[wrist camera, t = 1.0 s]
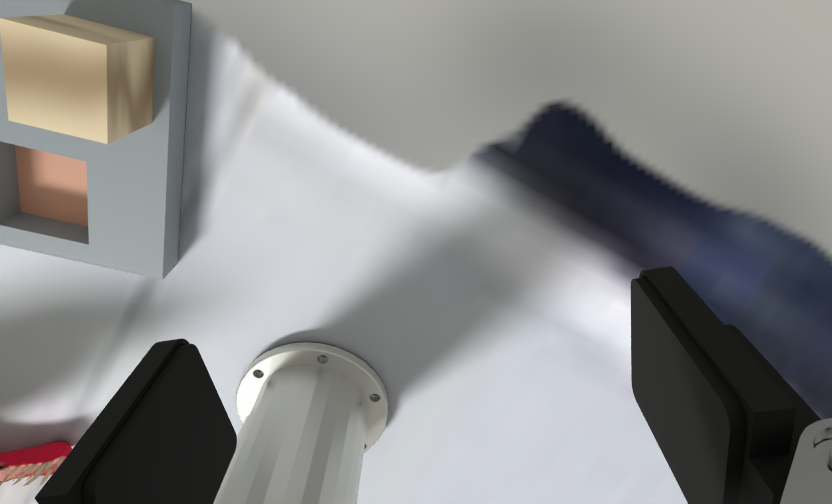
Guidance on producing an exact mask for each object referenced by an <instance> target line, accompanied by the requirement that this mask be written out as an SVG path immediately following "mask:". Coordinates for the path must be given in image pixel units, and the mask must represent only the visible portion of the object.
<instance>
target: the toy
mask: <svg viewBox="0 0 832 504" xmlns="http://www.w3.org/2000/svg"><path fill="white" fill-rule="evenodd" d="M71 450H72V448H71V446H70V445H69V444H68V443H66V442H53V443H49V444H45V445H41V446H37V447H33V448H28V449H23V450H17V451H11V452H5V453H0V485H1V484H2V483H3V482H6V481H9V480H11V479H15V478H19V479H18V480H17V481H16V482H15V483H14V484H16V483H17V482H19V481H20V480H21V479H22V478H23V477H27V476H30V477H29V478H28V479H30V478H31V477H32V476H33V475H34V476H33V478H32V479H30V480H29V481H28V482H27V483H26V484H25V485H28V484H30V483H31V482H32V481H34V480H35V479H36V478H38V477H39V476H42V475H45V476H44V478H43V480H42V482H41V484H42V483H43V482H45V481H46V480H47V478H48V477H49V476H50V475H52V474H54V472H55V471H56V470H57V469H58V467H59V466H60V465H61V463H62V462H63V461H64V460H65V458H66V457H67V456H68V454H69V453H70V452H71ZM28 479H27V480H28ZM14 484H13V485H14ZM41 484H40V485H41ZM25 485H23V486H25Z"/></svg>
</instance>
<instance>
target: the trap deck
mask: <svg viewBox="0 0 832 504" xmlns="http://www.w3.org/2000/svg"><path fill="white" fill-rule="evenodd" d="M191 10H192V4H191V3H187V2H183V1H180V0H0V18H5V17H22V16H40V15H58V14H65V15H69V16H73V17H77V18H81V19H85V20H89V21H92V22H96V23H100V24H104V25H108V26H112V27H116V28H120V29H123V30H127V31H131V32H135V33H139V34H143V35H147V36H151V37H154V73H153V110H152V123H151V124H149V125H147V126H145V127H143V128H141V129H139V130H137V131H134V132H132V133H130V134H128V135H126V136H124V137H122V138H120V139H117V140H115V141H113V142H111V143H109V144H105V143H101V142H96V141H92V140H88V139H84V138H80V137H75V136H71V135H67V134H63V133H59V132H54V131H50V130H46V129H42V128H38V127H33V126H29V125H25V124H21V123H17V122H12V121H8V110H7V99H6V88H5V78H4V67H3V56H2V45H1V35H0V244H1V245H6V246H10V247H15V248H20V249H24V250H29V251H33V252H38V253H43V254H47V255H52V256H56V257H61V258H66V259H70V260H75V261H79V262H84V263H89V264H93V265H98V266H102V267H107V268H111V269H116V270H121V271H125V272H130V273H134V274H139V275H144V276H148V277H153V278H157V279H162V280H163V279H164V277H165V276H166V275H167V274H168V273H169V272H170V271H171V270H172V269H173V268H174V267H175V266H176V265H177V263H178V248H179V230H180V211H181V193H182V175H183V157H184V138H185V120H186V102H187V83H188V65H189V47H190V29H191Z"/></svg>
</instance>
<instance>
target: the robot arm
mask: <svg viewBox="0 0 832 504" xmlns="http://www.w3.org/2000/svg"><path fill="white" fill-rule="evenodd" d="M631 365H632V389H633V393H634V396H635V399H636V401H637V403H638V405H639V407H640V409H641V411H642V413H643V415H644V417H645V419H646V421H647V423H648V425H649V427H650V429H651V431H652V433H653V435H654V437H655V439H656V441H657V443H658V445H659V447H660V449H661V451H662V453H663V455H664V457H665V459H666V461H667V463H668V465H669V467H670V469H671V471H672V473H673V475H674V477H675V478H676V480H677V482H678V484H679V486H680V488H681V490H682V492H683V494H684V496H685V498H686V500H687V502H688V504H832V418H831V419H825V420H821V419H820V418H819V417H818V416H817V415H816V413H815V412H814V411H813V410H812V409H811V408H810V407H809V406H808V405H807V404H806V403H805V401H804V400H803V399H802V398H801V397H800V396H799V395H798V394H797V393H796V392H795V391H794V389H793V388H792V387H791V386H790V385H789V384H788V383H787V382H786V381H785V380H784V379H783V377H782V376H781V375H780V374H779V373H778V372H777V371H776V370H775V369H774V368H773V366H772V365H771V364H770V363H769V362H768V361H767V360H766V359H765V358H764V357H763V356H762V354H761V353H760V352H759V351H758V350H757V349H756V348H755V347H754V346H753V345H752V344H751V342H750V341H749V340H748V339H747V338H746V337H745V336H744V335H743V334H742V333H741V332H740V330H738V329H737V328H736V327H735V326H733V325H729V324H728V325H724V324H723V323H722V322H721V321H720V320H719V318H718V317H717V316H716V315H715V314H714V313H713V312H712V310H711V309H710V308H709V307H708V306H707V305H706V304H705V303H704V301H703V300H702V299H701V298H700V297H699V296H698V295H697V294H696V292H695V291H694V290H693V289H692V288H691V287H690V286H689V284H688V283H687V282H686V281H685V280H684V279H683V278H682V277H681V275H680V274H679V273H678V272H677V271H676V270H675V269H674V268H673V267H663V268H656V269H649V270H643V271H641V272H640V276H639V278H637V279H633V280H632V281H631ZM236 406H237V413H238V415H239V418H240V421H241V423H242V428H241V430H240V432H239V435H238V437H236V433H235V430H234V428H233V426H232V424H231V421H230V419H229V417H228V415H227V413H226V410H225V408H224V406H223V404H222V402H221V399H220V397H219V395H218V393H217V390H216V388H215V386H214V384H213V382H212V379H211V377H210V375H209V373H208V370H207V368H206V366H205V364H204V362H203V359H202V357H201V355H200V353H199V351H198V349H197V347H196V346H195V345H194V344H189V342H188V341H187V340H185V339H176V340H169V341H162V342H157V343H155V344H154V345H153V346H152V347H151V349H150V350H149V351H148V353H147V354H146V355H145V356H144V358H143V359H142V360H141V362H140V363H139V364H138V365H137V367H136V368H135V369H134V371H133V372H132V373H131V375H130V376H129V377H128V378H127V380H126V381H125V382H124V384H123V385H122V386H121V387H120V389H119V390H118V391H117V393H116V394H115V395H114V396H113V398H112V399H111V400H110V402H109V403H108V404H107V405H106V407H105V408H104V409H103V411H102V412H101V413H100V414H99V416H98V417H97V418H96V420H95V421H94V422H93V423H92V425H91V426H90V427H89V429H88V430H87V431H86V432H85V434H84V435H83V436H82V438H81V439H80V440H79V441H78V443H77V444H76V445H75V447H74V448H73V449H72V450H71V452H70V453H69V454H68V456H67V457H66V458H65V460H64V461H63V462H62V463H61V465H60V466H59V467H58V469H57V470H56V471H55V472H54V474H53V475H52V476H51V478H50V479H49V480H48V481H47V483H46V484H45V485H44V487H43V488H42V489H41V490H40V492H39V493H38V494H37V496H36V497H35V499H36V501H37V502H38V504H357V497H358V490H359V482H360V475H361V468H362V461H363V454H364V453H365V452H366V451H367V450H369V449H370V448H371V447H372V446H373V445H374V444H375V443H376V442H377V441H378V439H379V438H380V437H381V435H382V433H383V431H384V429H385V426H386V422H387V416H388V399H387V394H386V390H385V388H384V386H383V384H382V382H381V380H380V378H379V377H378V376H377V374H376V373H375V372H374V370H373V369H372V368H370V367H369V366H368V365H367V364H366V363H365V362H364V361H363V360H361V359H359V358H358V357H356V356H355V355H353V354H352V353H349V352H347V351H345V350H342V349H340V348H338V347H334V346H330V345H326V344H321V343H310V342H303V343H291V344H287V345H283V346H279V347H276V348H274V349H272V350H269V351H267V352H265V353H264V354H262V355H261V356H259V357H258V358H257V359H255V360H254V362H253V363H252V364H251V365H250V366H249V367H248V368H247V370H246V372H245V373H244V375H243V377H242V379H241V381H240V384H239V386H238V389H237V395H236Z"/></svg>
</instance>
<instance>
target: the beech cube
mask: <svg viewBox="0 0 832 504" xmlns="http://www.w3.org/2000/svg"><path fill="white" fill-rule="evenodd" d="M0 35H1V45H2V56H3V67H4V78H5V88H6V99H7V110H8V121H12V122H17V123H21V124H25V125H29V126H33V127H38V128H42V129H46V130H50V131H54V132H59V133H63V134H67V135H71V136H75V137H80V138H84V139H88V140H92V141H96V142H101V143H105V144H109V143H111V142H113V141H115V140H117V139H120V138H122V137H124V136H126V135H128V134H130V133H132V132H134V131H137V130H139V129H141V128H143V127H145V126H147V125H149V124H151V123H152V110H153V73H154V37H151V36H147V35H143V34H139V33H135V32H131V31H127V30H123V29H120V28H116V27H112V26H108V25H104V24H100V23H96V22H92V21H89V20H85V19H81V18H77V17H73V16H69V15H65V14H58V15H40V16H22V17H5V18H0Z"/></svg>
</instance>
